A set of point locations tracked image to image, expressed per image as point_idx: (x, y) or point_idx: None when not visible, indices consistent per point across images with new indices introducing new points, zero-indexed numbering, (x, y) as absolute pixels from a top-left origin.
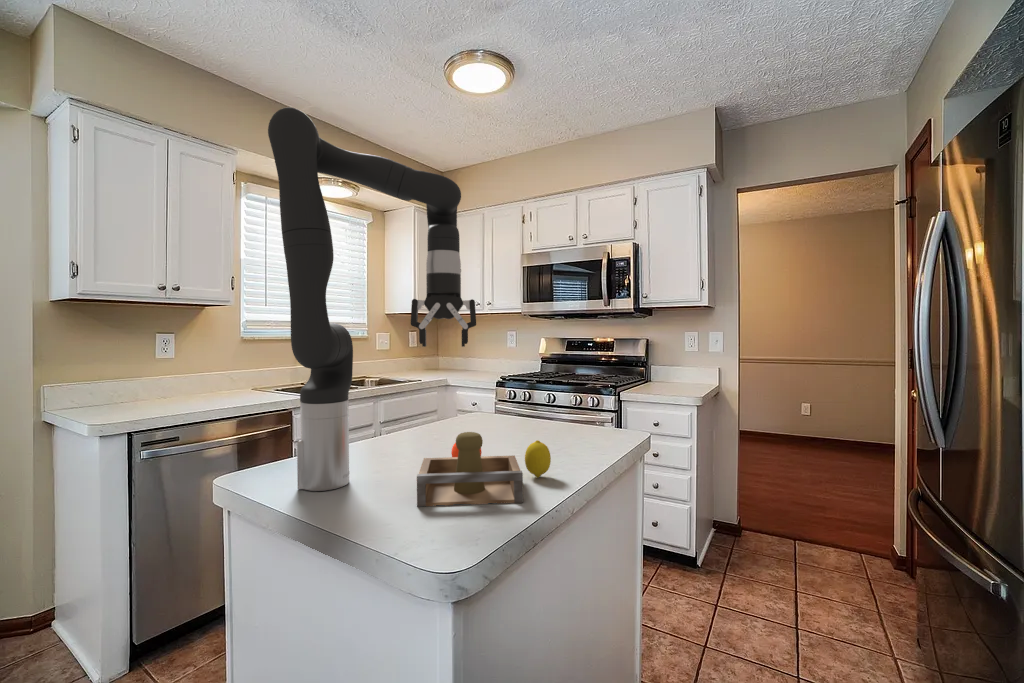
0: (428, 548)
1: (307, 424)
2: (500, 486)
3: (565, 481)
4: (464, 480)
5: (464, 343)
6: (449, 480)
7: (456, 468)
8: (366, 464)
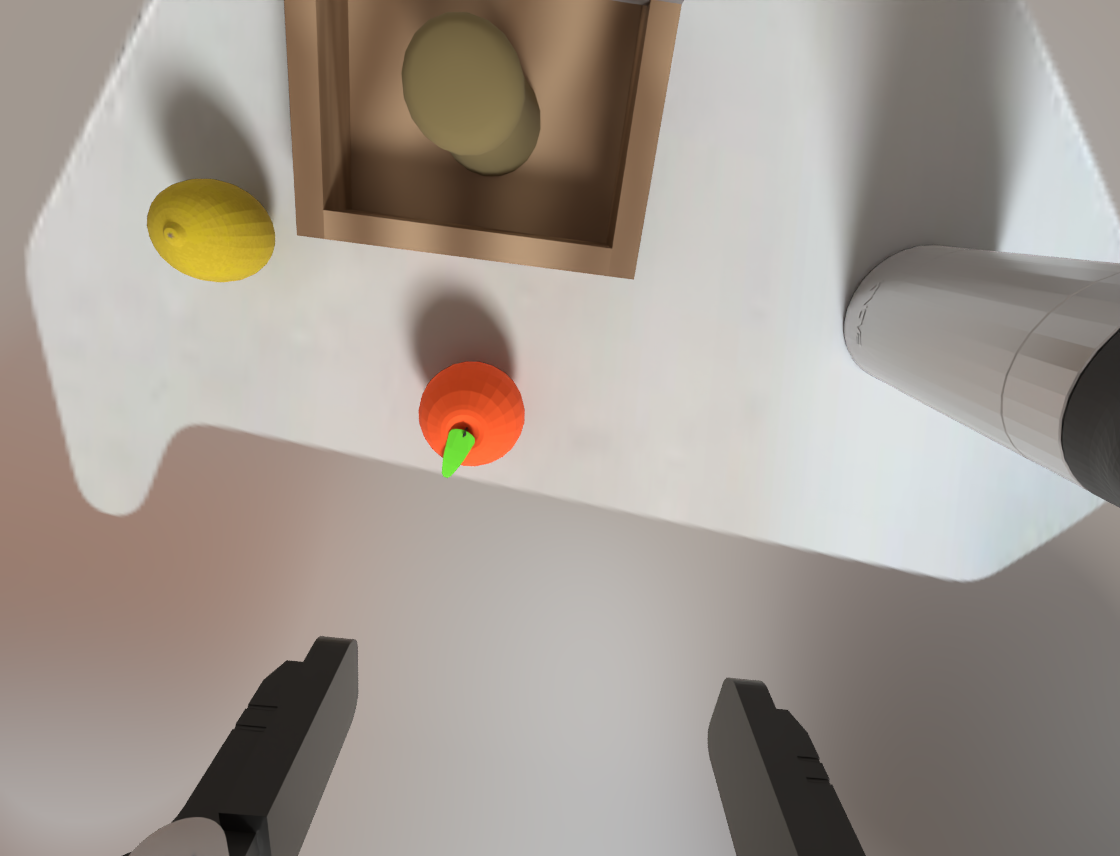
0: None
1: None
2: (384, 122)
3: (159, 162)
4: None
5: (312, 651)
6: None
7: (528, 115)
8: (776, 494)
